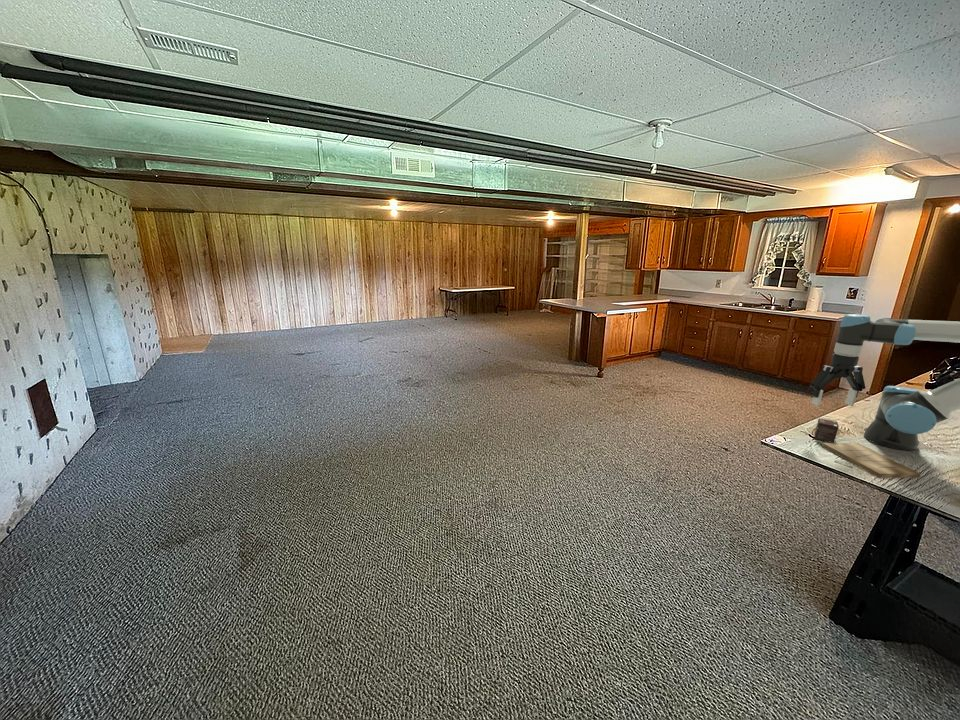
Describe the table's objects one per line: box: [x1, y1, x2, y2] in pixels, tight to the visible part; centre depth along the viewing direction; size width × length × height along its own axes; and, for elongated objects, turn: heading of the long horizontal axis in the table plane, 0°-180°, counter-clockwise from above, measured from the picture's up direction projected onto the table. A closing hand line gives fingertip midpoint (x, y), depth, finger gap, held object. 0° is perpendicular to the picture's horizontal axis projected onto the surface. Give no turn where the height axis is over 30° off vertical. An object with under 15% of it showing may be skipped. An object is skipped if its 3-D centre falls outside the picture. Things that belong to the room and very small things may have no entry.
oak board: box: [821, 442, 922, 479], centre depth 138 cm, size 14×22×2 cm, turn 0°
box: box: [814, 417, 839, 443], centre depth 155 cm, size 6×6×7 cm
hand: (832, 404), depth 152 cm, fingers open, 13 cm apart
